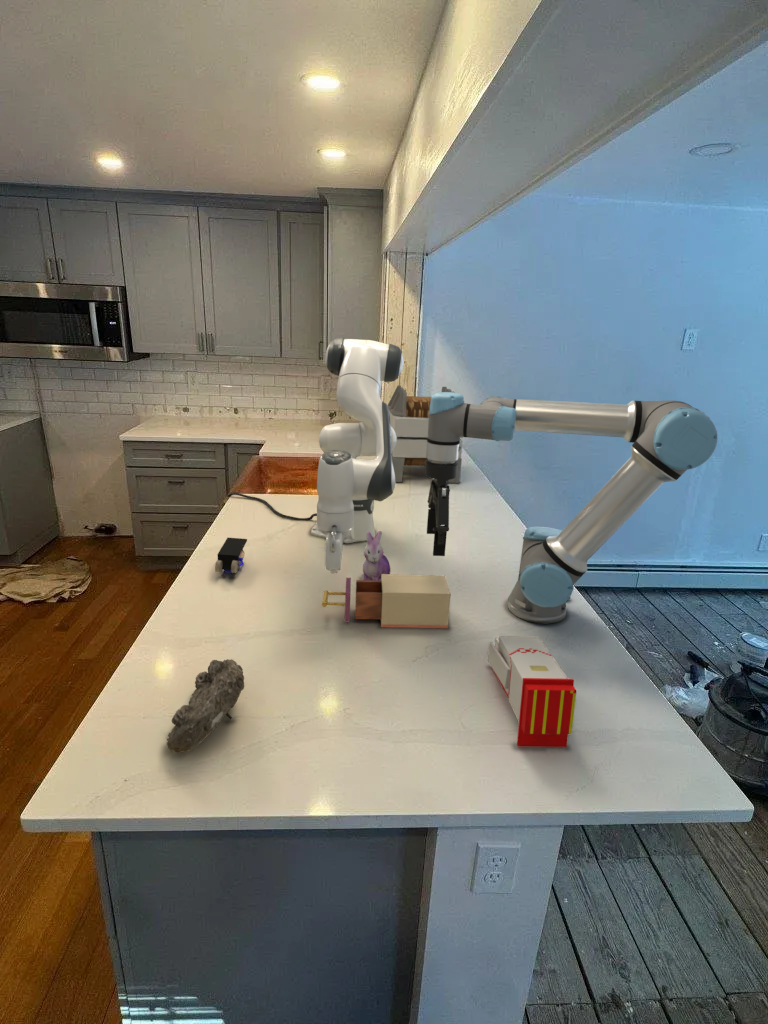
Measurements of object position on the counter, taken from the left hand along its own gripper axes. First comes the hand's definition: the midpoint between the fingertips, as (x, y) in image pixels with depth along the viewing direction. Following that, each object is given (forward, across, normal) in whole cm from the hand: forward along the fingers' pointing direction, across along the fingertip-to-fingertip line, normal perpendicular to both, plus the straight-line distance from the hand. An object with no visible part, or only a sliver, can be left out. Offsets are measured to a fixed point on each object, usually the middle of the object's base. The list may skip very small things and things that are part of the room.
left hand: (334, 571), depth 141 cm
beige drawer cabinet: (+13, 0, -20) cm, 24 cm away
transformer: (+13, +136, -35) cm, 141 cm away
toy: (+13, -32, -40) cm, 53 cm away
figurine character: (+13, +26, +31) cm, 42 cm away
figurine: (+13, +20, -11) cm, 27 cm away
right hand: (-8, 0, -25) cm, 26 cm away
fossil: (+13, -38, +21) cm, 46 cm away
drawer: (+12, 0, -8) cm, 14 cm away
